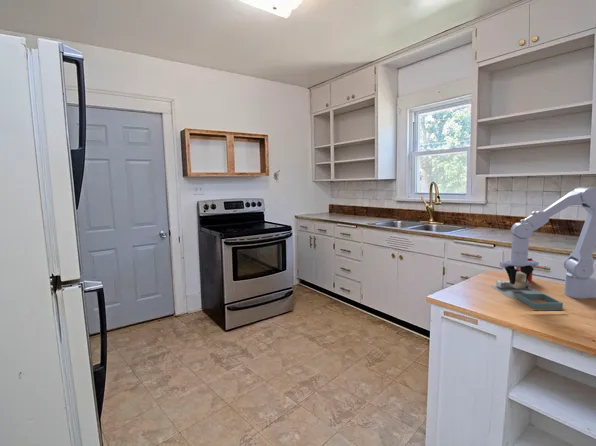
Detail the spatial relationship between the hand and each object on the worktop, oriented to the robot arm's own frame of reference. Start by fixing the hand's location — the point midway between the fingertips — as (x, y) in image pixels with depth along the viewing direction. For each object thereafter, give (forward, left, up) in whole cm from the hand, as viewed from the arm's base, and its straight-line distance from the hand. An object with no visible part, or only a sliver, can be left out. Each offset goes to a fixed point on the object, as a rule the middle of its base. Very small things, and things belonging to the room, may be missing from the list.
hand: (517, 283), depth 137 cm
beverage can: (-11, -15, -5) cm, 19 cm away
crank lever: (-1, -5, -3) cm, 6 cm away
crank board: (0, 0, -4) cm, 4 cm away
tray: (0, +13, -4) cm, 14 cm away
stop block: (0, 0, -2) cm, 2 cm away
